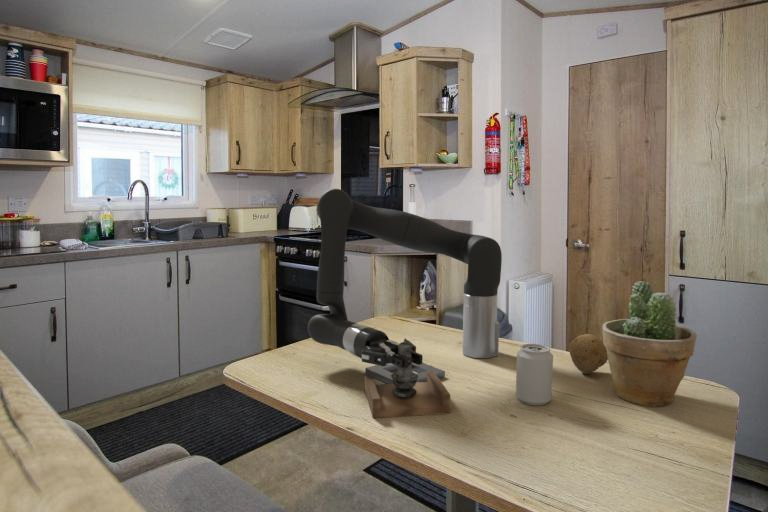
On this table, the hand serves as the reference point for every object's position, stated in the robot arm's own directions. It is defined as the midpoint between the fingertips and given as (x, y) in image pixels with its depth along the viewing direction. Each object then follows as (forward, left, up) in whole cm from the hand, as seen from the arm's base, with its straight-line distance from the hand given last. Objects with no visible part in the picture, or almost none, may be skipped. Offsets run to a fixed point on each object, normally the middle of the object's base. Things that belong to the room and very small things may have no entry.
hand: (413, 361), depth 108 cm
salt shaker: (+2, -3, -8) cm, 8 cm away
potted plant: (-52, +3, -10) cm, 53 cm away
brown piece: (+1, -2, -10) cm, 10 cm away
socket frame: (-2, -18, -10) cm, 21 cm away
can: (-27, +1, -10) cm, 28 cm away
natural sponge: (-48, -13, -10) cm, 50 cm away
